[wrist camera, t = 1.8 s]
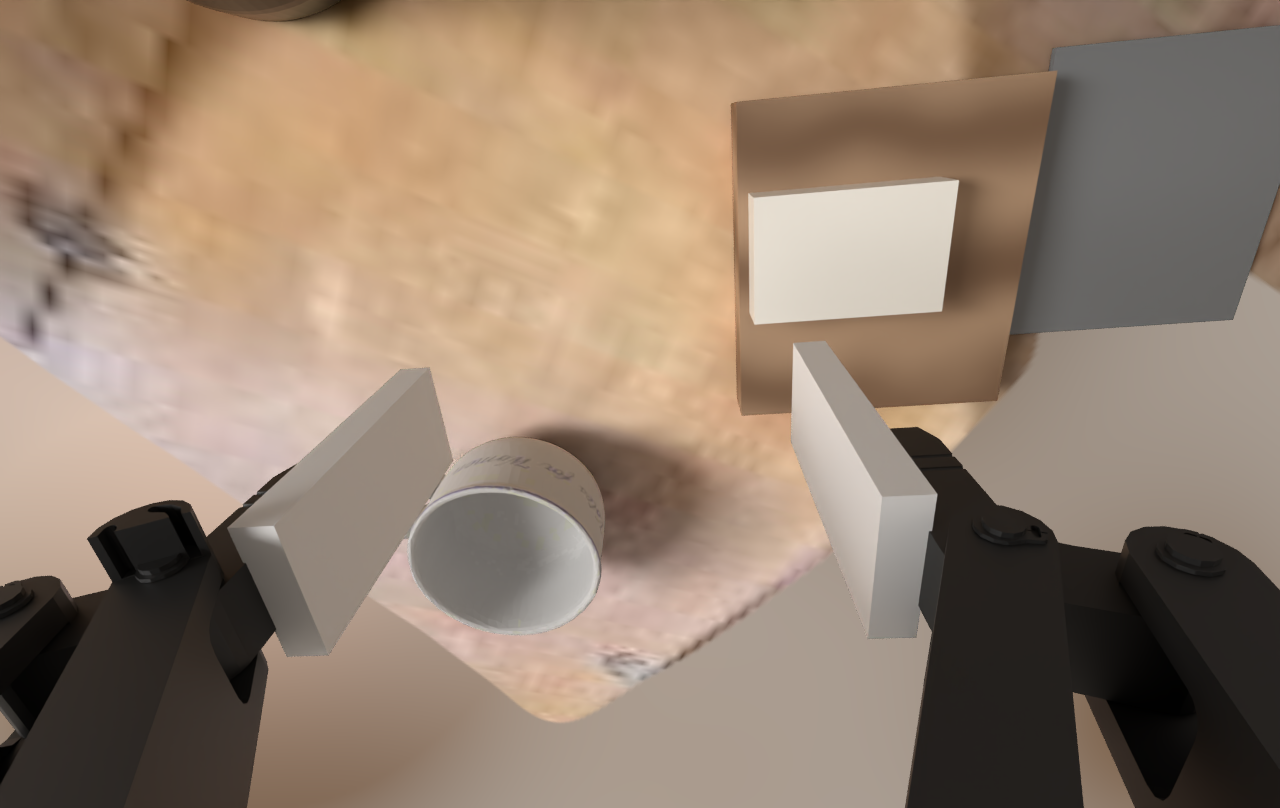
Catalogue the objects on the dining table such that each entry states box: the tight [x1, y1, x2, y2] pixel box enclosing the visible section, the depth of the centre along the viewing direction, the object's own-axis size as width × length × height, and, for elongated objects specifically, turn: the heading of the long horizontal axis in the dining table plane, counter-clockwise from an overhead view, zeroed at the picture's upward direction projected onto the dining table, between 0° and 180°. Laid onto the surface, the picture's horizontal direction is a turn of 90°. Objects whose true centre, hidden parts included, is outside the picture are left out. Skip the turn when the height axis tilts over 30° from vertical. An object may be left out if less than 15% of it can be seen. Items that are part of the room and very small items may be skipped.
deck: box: [731, 70, 1058, 416], centre depth 31 cm, size 16×14×2 cm
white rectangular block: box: [748, 177, 959, 325], centre depth 29 cm, size 6×9×2 cm, turn 95°
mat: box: [1009, 25, 1280, 335], centre depth 30 cm, size 14×12×1 cm
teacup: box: [403, 437, 605, 635], centre depth 36 cm, size 14×11×8 cm
